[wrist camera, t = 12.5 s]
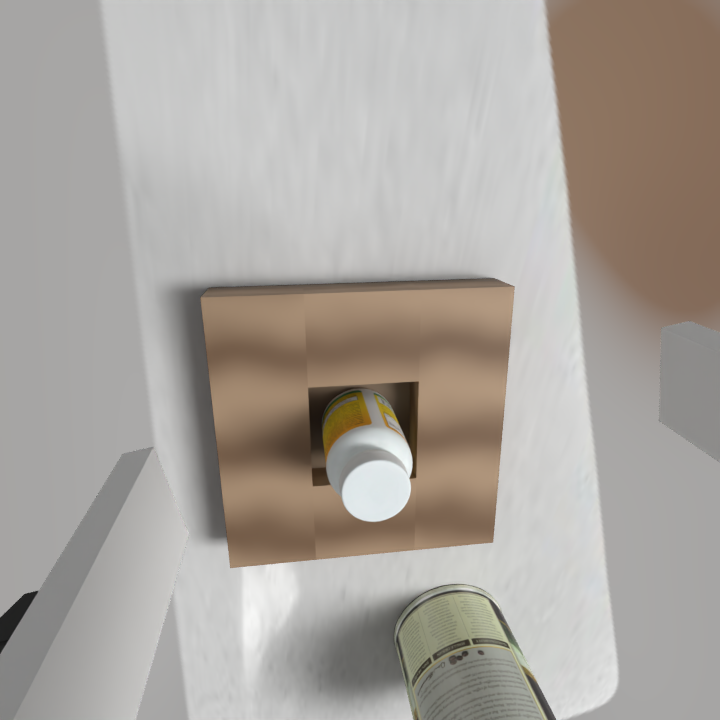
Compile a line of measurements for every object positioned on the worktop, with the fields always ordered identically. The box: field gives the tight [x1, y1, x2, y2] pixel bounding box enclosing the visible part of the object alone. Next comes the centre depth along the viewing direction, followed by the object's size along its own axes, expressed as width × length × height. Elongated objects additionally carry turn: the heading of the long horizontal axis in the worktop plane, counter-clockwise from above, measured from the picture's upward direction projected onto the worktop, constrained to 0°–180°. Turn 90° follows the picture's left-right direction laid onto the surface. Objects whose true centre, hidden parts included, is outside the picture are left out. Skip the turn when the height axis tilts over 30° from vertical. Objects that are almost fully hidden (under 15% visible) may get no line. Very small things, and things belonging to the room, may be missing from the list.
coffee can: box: [394, 585, 556, 720], centre depth 39 cm, size 10×10×14 cm
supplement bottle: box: [322, 388, 413, 522], centre depth 33 cm, size 5×5×10 cm
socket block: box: [200, 278, 515, 568], centre depth 37 cm, size 20×20×4 cm
